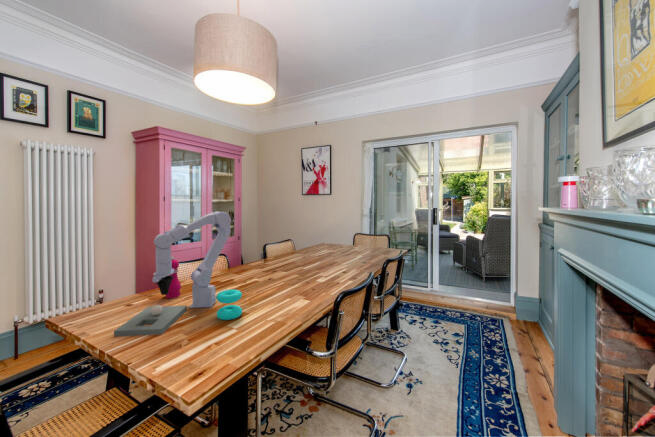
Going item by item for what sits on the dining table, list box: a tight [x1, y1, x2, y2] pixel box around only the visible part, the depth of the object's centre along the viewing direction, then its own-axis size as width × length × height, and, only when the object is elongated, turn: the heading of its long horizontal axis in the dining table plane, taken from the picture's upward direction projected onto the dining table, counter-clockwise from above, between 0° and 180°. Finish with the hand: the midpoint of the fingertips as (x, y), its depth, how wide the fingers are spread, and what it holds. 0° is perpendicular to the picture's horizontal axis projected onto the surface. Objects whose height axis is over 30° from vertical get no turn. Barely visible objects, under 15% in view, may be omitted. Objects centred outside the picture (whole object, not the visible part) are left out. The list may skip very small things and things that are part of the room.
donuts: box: [216, 288, 243, 321], centre depth 114 cm, size 10×10×10 cm
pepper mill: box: [165, 256, 182, 299], centre depth 137 cm, size 7×7×20 cm
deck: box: [113, 305, 188, 337], centre depth 108 cm, size 16×22×2 cm
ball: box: [151, 304, 163, 315], centre depth 110 cm, size 4×4×4 cm
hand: (164, 294), depth 117 cm, fingers closed
